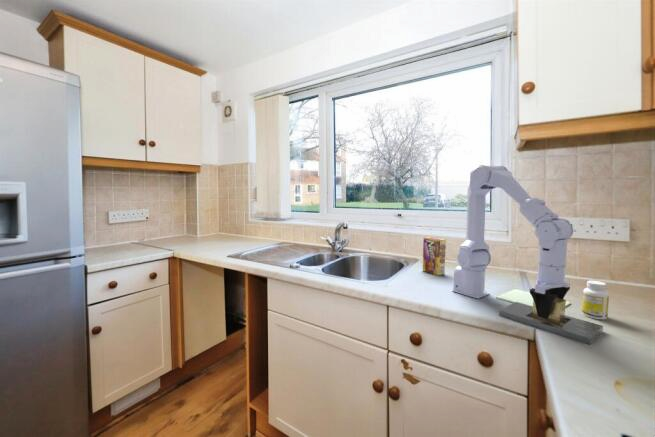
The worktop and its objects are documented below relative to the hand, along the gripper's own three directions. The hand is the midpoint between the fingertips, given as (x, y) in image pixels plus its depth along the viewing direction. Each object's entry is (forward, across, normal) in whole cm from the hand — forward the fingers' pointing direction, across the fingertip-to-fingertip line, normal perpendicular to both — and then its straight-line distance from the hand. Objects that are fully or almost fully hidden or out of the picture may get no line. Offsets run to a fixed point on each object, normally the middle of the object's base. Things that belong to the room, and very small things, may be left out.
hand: (548, 314), depth 79 cm
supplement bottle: (+3, +16, -6) cm, 17 cm away
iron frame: (+2, 0, 0) cm, 2 cm away
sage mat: (+2, +15, +9) cm, 18 cm away
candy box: (+3, +18, +48) cm, 51 cm away
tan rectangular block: (+3, 0, 0) cm, 3 cm away
